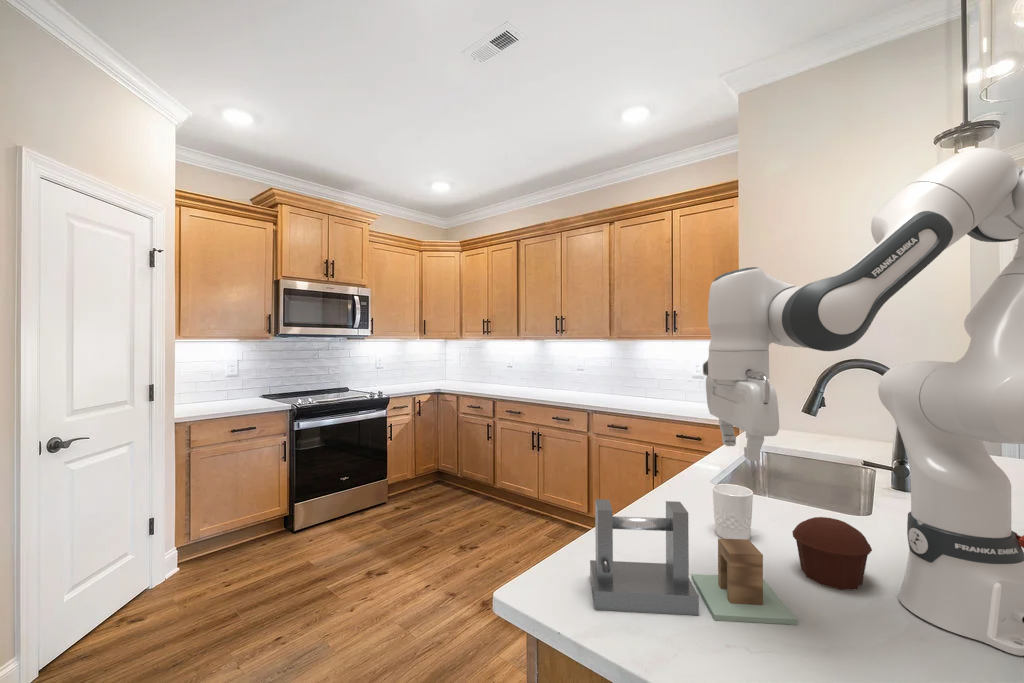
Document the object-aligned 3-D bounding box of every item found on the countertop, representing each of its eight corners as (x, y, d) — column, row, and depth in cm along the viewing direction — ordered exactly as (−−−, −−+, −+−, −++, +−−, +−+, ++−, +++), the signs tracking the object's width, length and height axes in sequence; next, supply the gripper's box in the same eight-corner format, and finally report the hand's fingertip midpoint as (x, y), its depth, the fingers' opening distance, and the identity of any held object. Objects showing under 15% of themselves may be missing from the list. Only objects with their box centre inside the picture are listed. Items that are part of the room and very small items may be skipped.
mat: (761, 581, 80) (761, 577, 80) (797, 624, 68) (797, 619, 68) (691, 578, 81) (691, 574, 81) (714, 620, 69) (714, 614, 69)
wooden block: (748, 586, 77) (748, 539, 77) (763, 605, 71) (762, 554, 71) (718, 585, 77) (717, 538, 77) (730, 603, 72) (729, 553, 72)
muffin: (855, 566, 85) (855, 513, 85) (885, 598, 74) (885, 538, 74) (784, 557, 88) (784, 506, 88) (802, 587, 78) (802, 530, 78)
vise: (681, 580, 80) (681, 496, 80) (698, 615, 70) (698, 519, 70) (590, 576, 82) (589, 494, 82) (594, 609, 72) (593, 515, 72)
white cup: (718, 524, 104) (718, 481, 104) (756, 534, 99) (756, 488, 99) (708, 536, 98) (708, 490, 98) (748, 547, 93) (748, 498, 93)
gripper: (791, 372, 63) (792, 470, 63) (734, 364, 84) (736, 438, 84) (744, 373, 64) (745, 470, 64) (699, 364, 84) (700, 438, 84)
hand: (739, 452), depth 74 cm, fingers open, 8 cm apart
